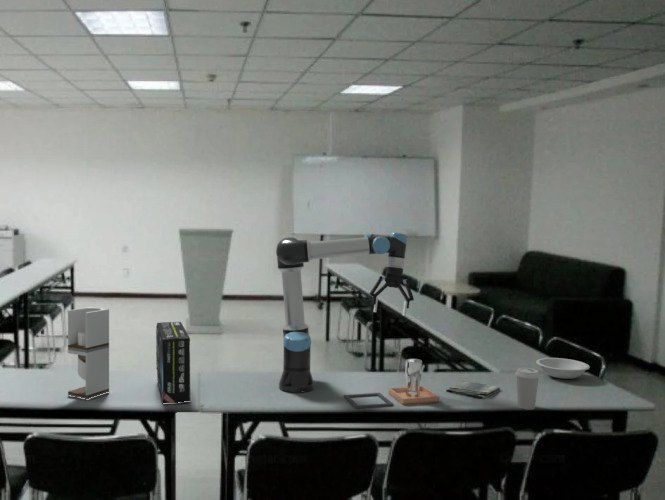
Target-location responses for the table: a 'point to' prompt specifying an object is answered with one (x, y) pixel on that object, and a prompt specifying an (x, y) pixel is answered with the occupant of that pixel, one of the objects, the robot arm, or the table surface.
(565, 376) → the soup bowl
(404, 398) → the terracotta tray
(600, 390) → the table surface
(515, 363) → the table surface
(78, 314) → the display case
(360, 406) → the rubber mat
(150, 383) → the table surface
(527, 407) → the coffee cup
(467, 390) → the dish towel
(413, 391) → the beer glass
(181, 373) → the router box
